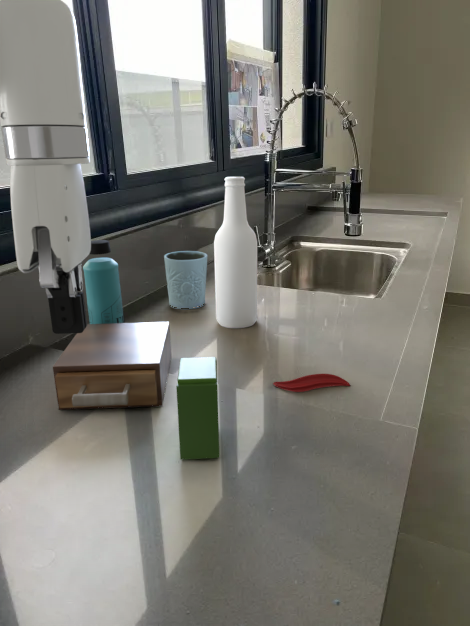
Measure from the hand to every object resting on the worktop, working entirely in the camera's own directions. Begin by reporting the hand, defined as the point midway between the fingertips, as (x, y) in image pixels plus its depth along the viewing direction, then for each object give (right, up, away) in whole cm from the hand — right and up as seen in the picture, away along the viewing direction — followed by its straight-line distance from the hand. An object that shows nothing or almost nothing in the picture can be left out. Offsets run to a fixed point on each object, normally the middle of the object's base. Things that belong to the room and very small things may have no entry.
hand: (70, 330), depth 53 cm
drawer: (-1, -9, +23) cm, 25 cm away
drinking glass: (+6, +4, +66) cm, 67 cm away
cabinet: (-1, -9, +27) cm, 29 cm away
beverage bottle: (-7, -4, +42) cm, 43 cm away
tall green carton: (+13, -15, +10) cm, 22 cm away
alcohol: (+18, 0, +54) cm, 57 cm away
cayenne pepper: (+29, -10, +25) cm, 39 cm away
